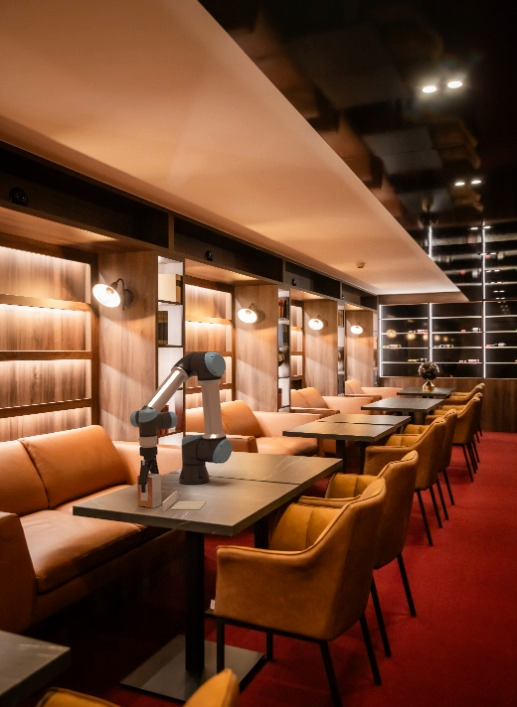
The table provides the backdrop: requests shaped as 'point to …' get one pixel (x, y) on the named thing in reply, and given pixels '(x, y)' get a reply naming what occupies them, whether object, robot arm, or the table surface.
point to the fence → (170, 501)
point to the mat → (188, 505)
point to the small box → (151, 491)
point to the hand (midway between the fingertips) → (149, 496)
